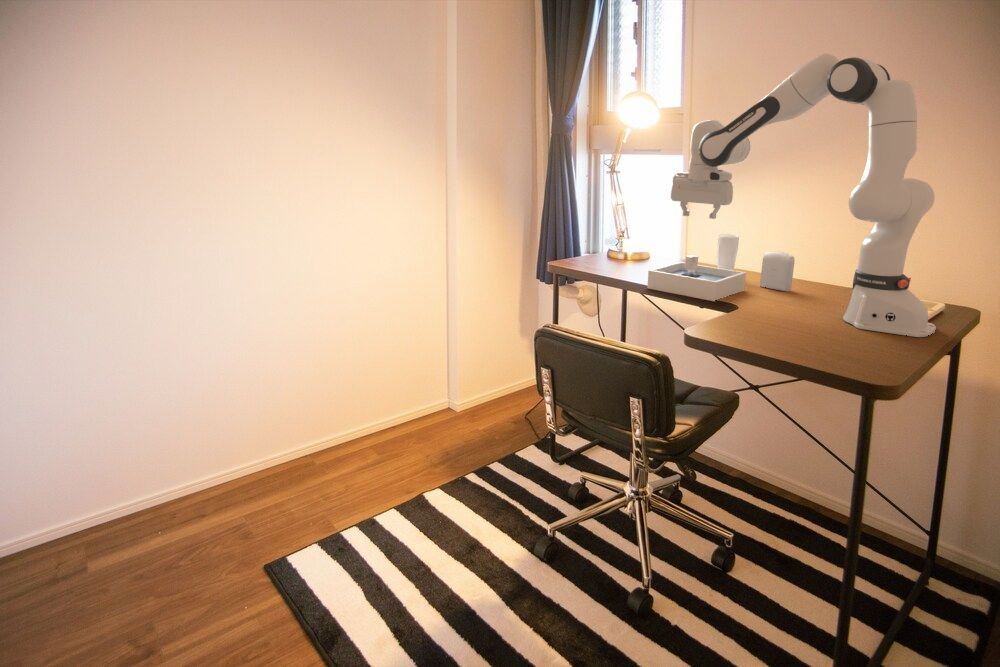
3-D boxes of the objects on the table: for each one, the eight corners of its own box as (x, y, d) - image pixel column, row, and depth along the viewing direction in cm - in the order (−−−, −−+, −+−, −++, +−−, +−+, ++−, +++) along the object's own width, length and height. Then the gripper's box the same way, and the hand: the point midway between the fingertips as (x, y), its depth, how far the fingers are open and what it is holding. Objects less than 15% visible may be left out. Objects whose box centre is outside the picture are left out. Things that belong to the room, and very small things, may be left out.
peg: (697, 285, 238) (700, 256, 235) (692, 287, 235) (694, 258, 233) (687, 284, 241) (689, 254, 238) (681, 286, 238) (683, 256, 235)
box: (744, 290, 233) (746, 272, 231) (714, 301, 219) (716, 282, 217) (678, 278, 248) (680, 261, 247) (647, 288, 235) (648, 270, 233)
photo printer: (757, 286, 238) (761, 250, 234) (764, 285, 241) (768, 248, 237) (786, 292, 230) (791, 254, 227) (793, 290, 233) (798, 253, 229)
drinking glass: (710, 277, 251) (714, 234, 247) (725, 275, 254) (729, 233, 249) (723, 281, 245) (728, 237, 241) (738, 279, 248) (743, 236, 243)
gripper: (668, 172, 231) (665, 215, 235) (727, 175, 218) (723, 221, 222) (678, 171, 236) (675, 213, 240) (737, 174, 222) (732, 219, 226)
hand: (699, 217), depth 231 cm, fingers open, 8 cm apart
